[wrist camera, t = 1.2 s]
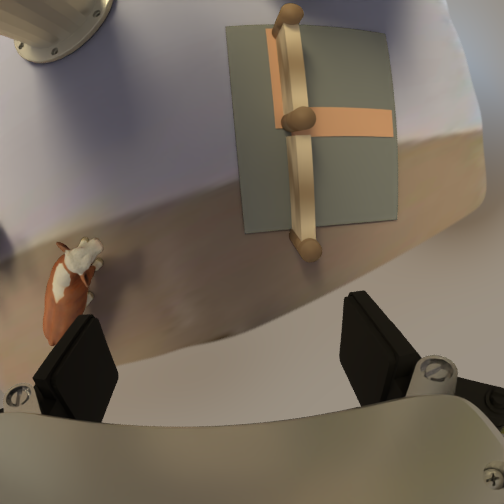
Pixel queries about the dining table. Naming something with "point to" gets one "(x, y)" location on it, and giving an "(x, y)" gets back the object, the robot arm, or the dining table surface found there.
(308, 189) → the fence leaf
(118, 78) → the dining table surface
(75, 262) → the bull figurine
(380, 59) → the card
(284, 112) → the wooden fence panel
